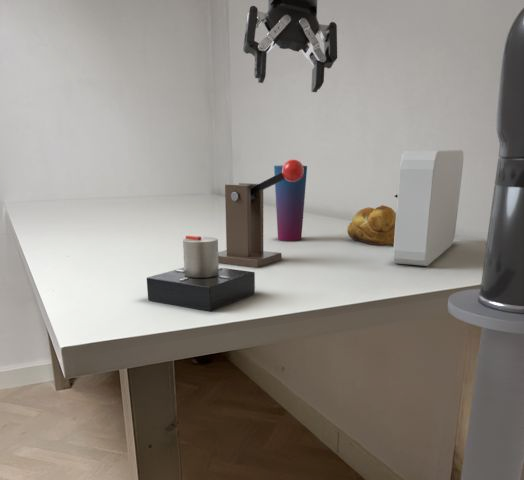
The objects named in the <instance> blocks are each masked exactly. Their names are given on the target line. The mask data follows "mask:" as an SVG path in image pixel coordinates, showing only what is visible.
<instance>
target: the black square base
mask: <svg viewBox="0 0 524 480" xmlns="http://www.w3.org/2000/svg"><path fill="white" fill-rule="evenodd" d="M255 279H256V272H255V271H248V270H241V269H234V268H226V267H219V274H218V275H217V276H214V277H208V278H192V277H187V276H185V272H184V267H181V268H177V269H174V270H169V271H166V272H162V273H159V274H158V273H157V274H155V275H152V276H147V277H146V288H147V289H146V290H147V300H148V301H149V302H150V301H151V302H154V303H155V302H156V303H160V304H168V305H171V306H177V307H184V308H188V309H195V310H200V311H205V312H206V311H207V312H212V311H216V310H218V309H220V308H222V307H225V306H228V305H230V304H233V303H236V302H238V301H240V300H243V299H245V298H248V297H250V296H253V295H255V293H256V280H255Z"/></svg>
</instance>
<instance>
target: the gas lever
mask: <svg viewBox="0 0 524 480" xmlns="http://www.w3.org/2000/svg"><path fill="white" fill-rule="evenodd" d="M282 165H283V168H282V172H281V173H279V174H277V175H275V174H274V175H273V176H272V177H269V178H268V179H265V180H264V181H262V182H260V183H257V184H258V185H256V186H254V187H252V185H251V201H253V200H255V199H257V198H256V195H255V194H256V193H258V192H260V191H262V190H263V191H264V190H267V189H268V188H270V187H272V186H275V184H276V183H278V182H280V181H282V180H284V179H286V180H287V181H289V182H296V181H298V180H300V179H301V178H302V176H303V173H304V168H303V165H304V164H302V162H301V161H299V160H298V159H295V158H291V159H288V160H287V161H286V162H284V164H282Z"/></svg>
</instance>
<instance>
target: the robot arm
mask: <svg viewBox="0 0 524 480" xmlns="http://www.w3.org/2000/svg"><path fill="white" fill-rule="evenodd" d="M267 2H268V3H267V12H266V13H265V12H263V11H258V7H257V6H256V5H251V6H250V7H249V10H248V13H247V16H246V21H245V29H244V40H243V48H242V49H243V50H242V51H243V53H244V54H250V55H252V56H253V57H254V69H253V71H254V72H253V73H254V74H253V75H254V78H255V79H257V83H259V84H264V82H265V79H266V75H267V55H268V53H269V52H270V51H271V50H272V49H273V48H274V47H275V46H278V47H279V49H281V50H291V51H293V52H298V53H299V52H300V51H301V53H302V54H303V56H304V58H305V59H306V60H308V61H309V63H310V64H311V66H312V67H313V68H312V70H311V87H310V88H311V89H310V90H311V93H317V92H318V91H319V90H320V89H321V87H322V86H323V85H324V82H325V68H326V69H331V68H332V67H333V65H334V63H335V62H336V61H337V59H338V24H337V23H336V22H334V21H330V23H328V24H322V23H319V20H318V15H317V14H318V0H268V1H267ZM261 24H263V25H264V27H265V28H266V30H267V31H268V33H267V34H266V36H265V37H264V38H262V40H261V41H260V42H257V41H256V40H255V38H256V29H259V28H260V26H261ZM317 34H318V35H319V37H320V40H321V42H322V43H323V48H324V49H323V50H324V52H323V50H322V48H321V46H320V41H319V39H318V38H317ZM501 55H502V56H501V62H500V71H499V80H498V91H497V102H496V114H495V115H496V116H495V128H496V134H497V138H498V142H499V147H498V148H499V149H498V156H497V157H498V159H497V164H496V171H495V179H494V187H493V194H492V201H491V209H490V215H489V223H488V230H487V236H486V237H487V238H486V245H485V250H484V251H485V252H484V260H483V265H482V266H483V267H482V273H481V275H482V276H481V281H480V285H479V289H480V292H479V296H478V302H479V303H480V304H482V305H484V306H486V307H488V308H491V309H495V310H499V311H504V312H510V313H517V314H524V6H523V7H522V8H521V10H520V11H519V12H518V13H517V15H516V17H514V19H513V21H512V23H511V25H510V27H509V30H508V32H507V35H506V38H505V41H504V45H503V50H502V54H501Z"/></svg>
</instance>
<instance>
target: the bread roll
mask: <svg viewBox="0 0 524 480" xmlns="http://www.w3.org/2000/svg"><path fill="white" fill-rule="evenodd" d="M395 223H396V211H395V210H394V209H393V208H392V207H389V206H387V205H384V204H382V205H380V206H377V207H375V208H374V207H368V206H367V207H364V208H362V209H360V210H358V211H357V212H356V213H355V215H354V216H353V217H352V220H351V222H350V223H348V225H347V229H346V230H347V235H348V236H349V238H350V239H352V240H355V241H359V242H364V243H365V244H368V245H373V246H374V245H376V246H388V245H389V246H390V245H394V236H395Z"/></svg>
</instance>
